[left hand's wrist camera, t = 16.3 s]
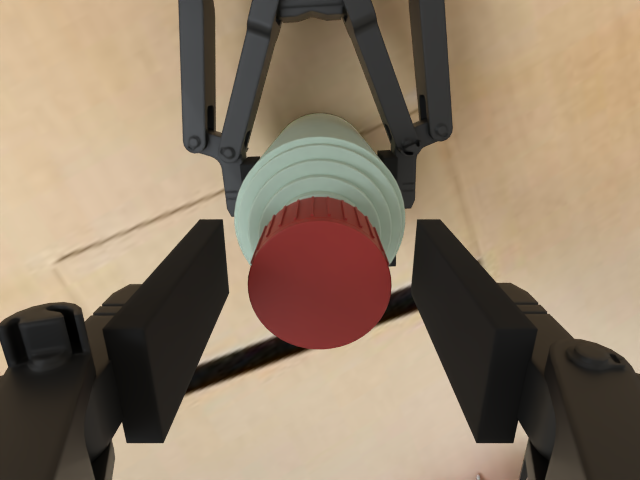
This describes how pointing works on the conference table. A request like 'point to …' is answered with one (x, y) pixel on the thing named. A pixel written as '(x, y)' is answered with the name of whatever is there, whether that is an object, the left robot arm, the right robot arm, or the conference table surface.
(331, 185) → the bottle
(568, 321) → the conference table surface
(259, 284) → the cap
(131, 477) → the conference table surface
